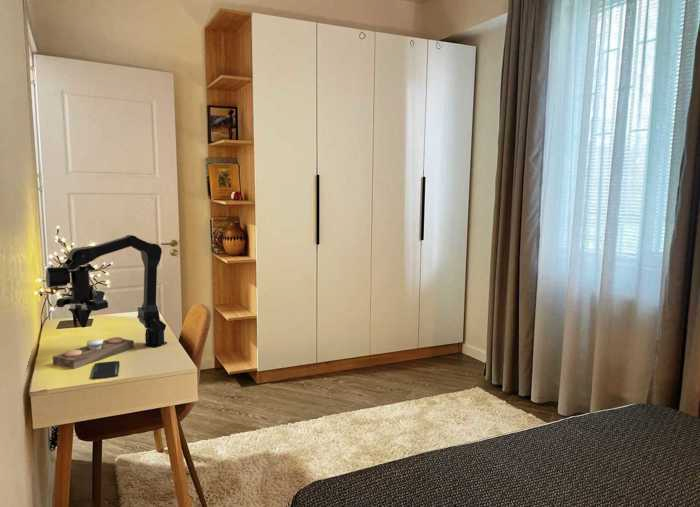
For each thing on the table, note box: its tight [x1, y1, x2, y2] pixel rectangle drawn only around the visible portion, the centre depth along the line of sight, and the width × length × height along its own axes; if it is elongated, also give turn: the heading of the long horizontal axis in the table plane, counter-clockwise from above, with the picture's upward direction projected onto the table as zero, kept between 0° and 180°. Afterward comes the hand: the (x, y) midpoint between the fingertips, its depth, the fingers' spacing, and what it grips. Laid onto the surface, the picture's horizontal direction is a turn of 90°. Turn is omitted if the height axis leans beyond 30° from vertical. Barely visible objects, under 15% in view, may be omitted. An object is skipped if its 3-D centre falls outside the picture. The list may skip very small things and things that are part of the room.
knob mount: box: [52, 338, 135, 370], centre depth 189 cm, size 10×26×3 cm, turn 157°
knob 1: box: [64, 349, 82, 358], centre depth 181 cm, size 5×5×4 cm
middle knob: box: [86, 338, 104, 351], centre depth 189 cm, size 5×5×4 cm
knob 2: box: [106, 336, 124, 344], centre depth 197 cm, size 5×5×4 cm
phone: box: [91, 360, 120, 380], centre depth 174 cm, size 8×1×15 cm
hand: (83, 327), depth 186 cm, fingers closed
